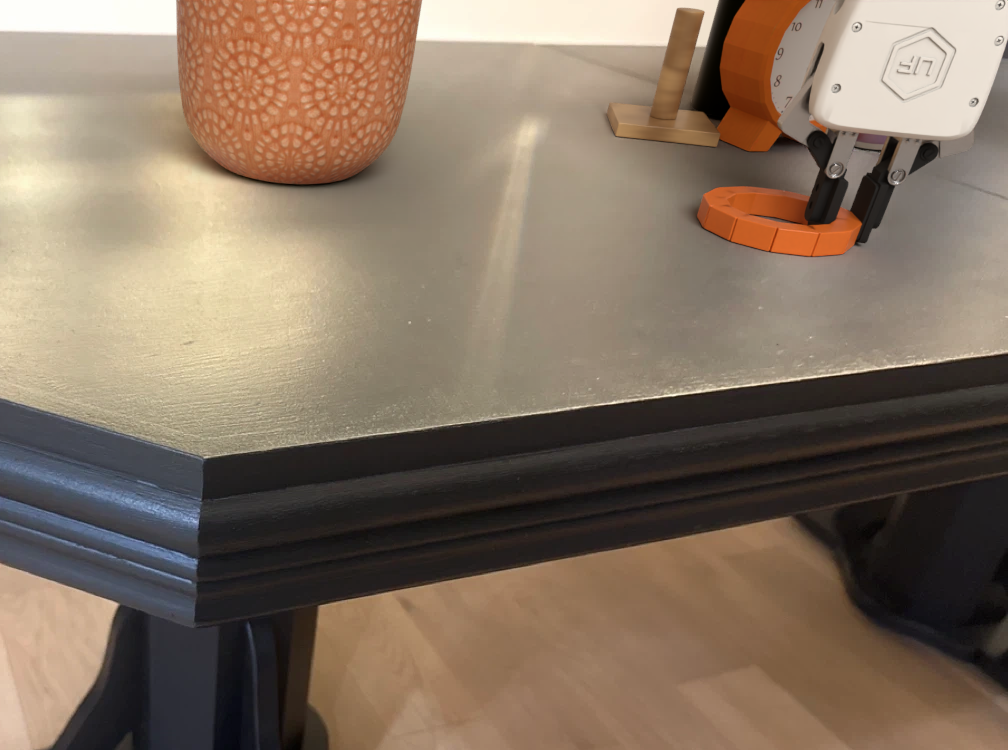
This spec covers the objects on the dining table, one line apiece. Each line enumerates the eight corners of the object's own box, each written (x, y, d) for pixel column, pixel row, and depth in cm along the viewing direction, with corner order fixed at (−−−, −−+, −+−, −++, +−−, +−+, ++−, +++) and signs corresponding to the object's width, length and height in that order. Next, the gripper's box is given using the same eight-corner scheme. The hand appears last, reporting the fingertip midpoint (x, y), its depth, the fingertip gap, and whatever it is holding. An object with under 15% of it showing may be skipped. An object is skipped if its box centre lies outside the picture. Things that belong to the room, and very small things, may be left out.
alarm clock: (737, 153, 91) (819, -114, 79) (695, 135, 95) (767, -119, 84) (857, 152, 94) (952, -104, 83) (811, 135, 99) (895, -109, 88)
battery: (683, 114, 103) (747, -122, 92) (694, 102, 108) (756, -122, 97) (757, 126, 101) (832, -115, 89) (765, 114, 106) (837, -115, 95)
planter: (226, 209, 68) (235, -55, 59) (143, 142, 80) (140, -84, 71) (443, 193, 74) (479, -47, 66) (335, 133, 87) (354, -75, 78)
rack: (700, 124, 100) (733, 7, 94) (716, 147, 92) (753, 21, 86) (606, 115, 100) (633, -2, 95) (615, 136, 93) (645, 11, 87)
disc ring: (828, 217, 76) (836, 195, 75) (870, 264, 68) (879, 240, 67) (688, 201, 77) (694, 179, 76) (711, 245, 69) (719, 221, 68)
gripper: (829, -78, 59) (729, 238, 69) (1122, -53, 57) (974, 266, 68) (797, -85, 65) (710, 206, 76) (1061, -63, 63) (934, 231, 74)
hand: (836, 232), depth 72 cm, fingers closed on disc ring, 2 cm apart
